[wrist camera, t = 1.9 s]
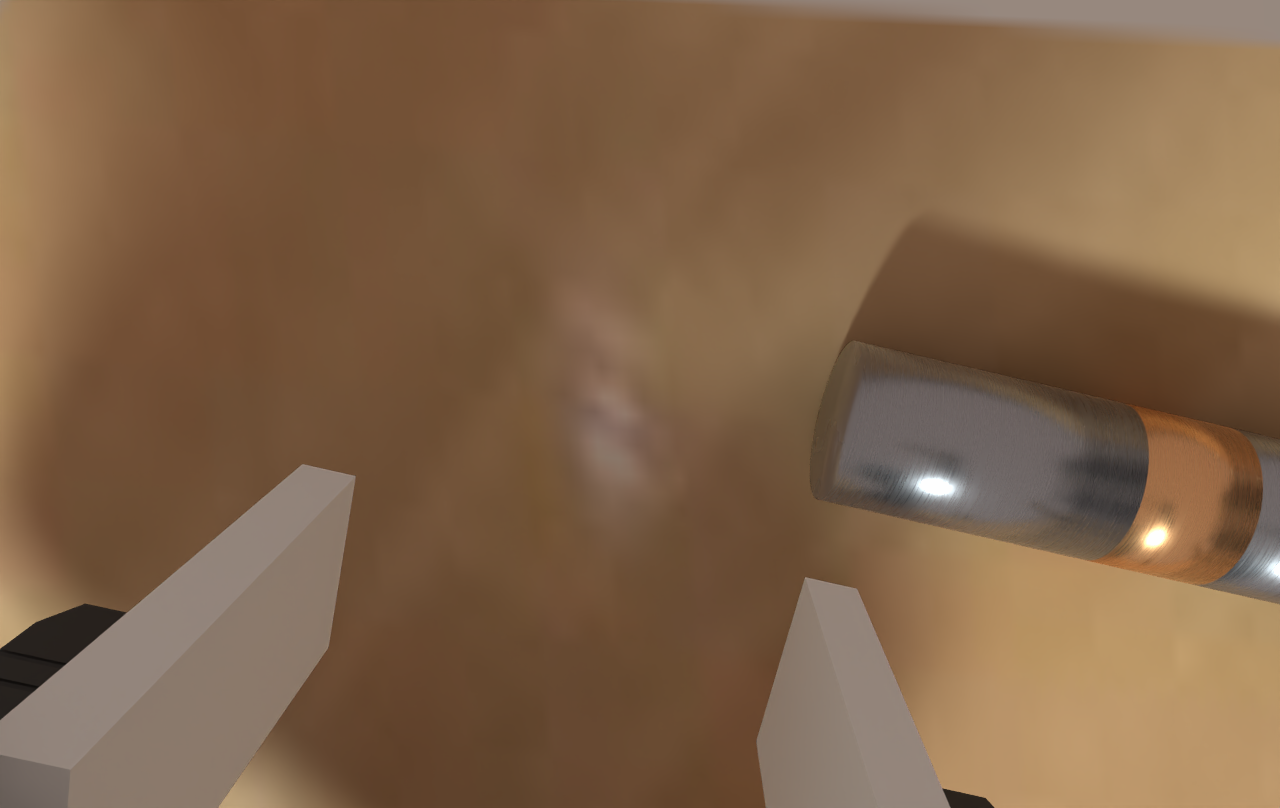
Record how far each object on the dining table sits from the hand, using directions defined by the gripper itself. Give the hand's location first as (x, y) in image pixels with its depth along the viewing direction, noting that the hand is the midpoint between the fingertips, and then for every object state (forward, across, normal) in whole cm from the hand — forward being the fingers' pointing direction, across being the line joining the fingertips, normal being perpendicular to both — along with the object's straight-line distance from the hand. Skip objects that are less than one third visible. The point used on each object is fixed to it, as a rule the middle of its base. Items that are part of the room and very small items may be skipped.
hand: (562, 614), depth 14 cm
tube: (+15, -15, 0) cm, 21 cm away
